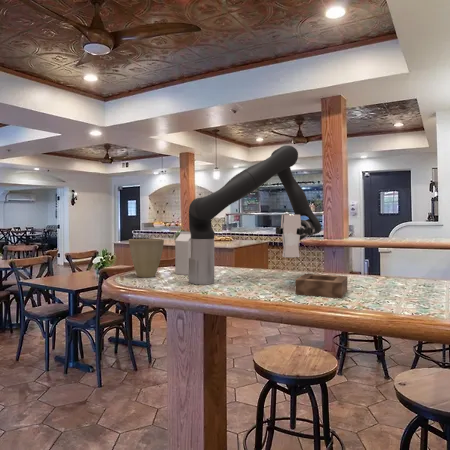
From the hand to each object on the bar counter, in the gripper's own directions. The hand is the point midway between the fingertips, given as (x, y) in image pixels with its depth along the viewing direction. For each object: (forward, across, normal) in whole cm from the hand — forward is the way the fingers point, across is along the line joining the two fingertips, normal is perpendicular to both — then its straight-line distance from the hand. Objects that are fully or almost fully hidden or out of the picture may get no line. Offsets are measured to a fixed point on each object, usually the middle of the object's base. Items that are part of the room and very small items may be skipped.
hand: (289, 231), depth 137 cm
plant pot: (-6, -64, +21) cm, 67 cm away
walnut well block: (-1, +11, +21) cm, 24 cm away
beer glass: (-2, 0, +9) cm, 9 cm away
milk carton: (-19, -52, +21) cm, 59 cm away
